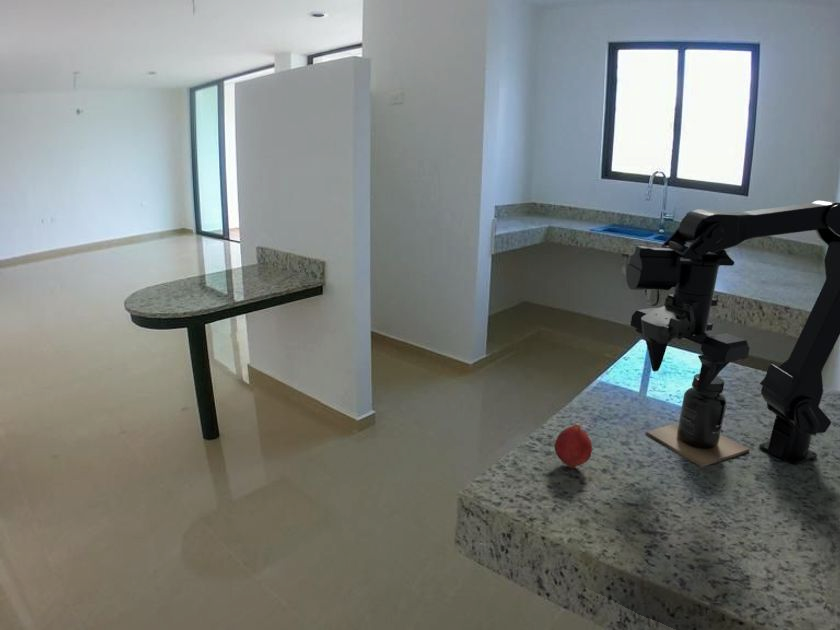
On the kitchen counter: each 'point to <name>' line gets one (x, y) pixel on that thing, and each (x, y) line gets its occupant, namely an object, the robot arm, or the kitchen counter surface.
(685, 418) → the supplement bottle
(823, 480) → the kitchen counter surface
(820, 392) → the robot arm
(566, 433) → the onion
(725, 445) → the tan board
